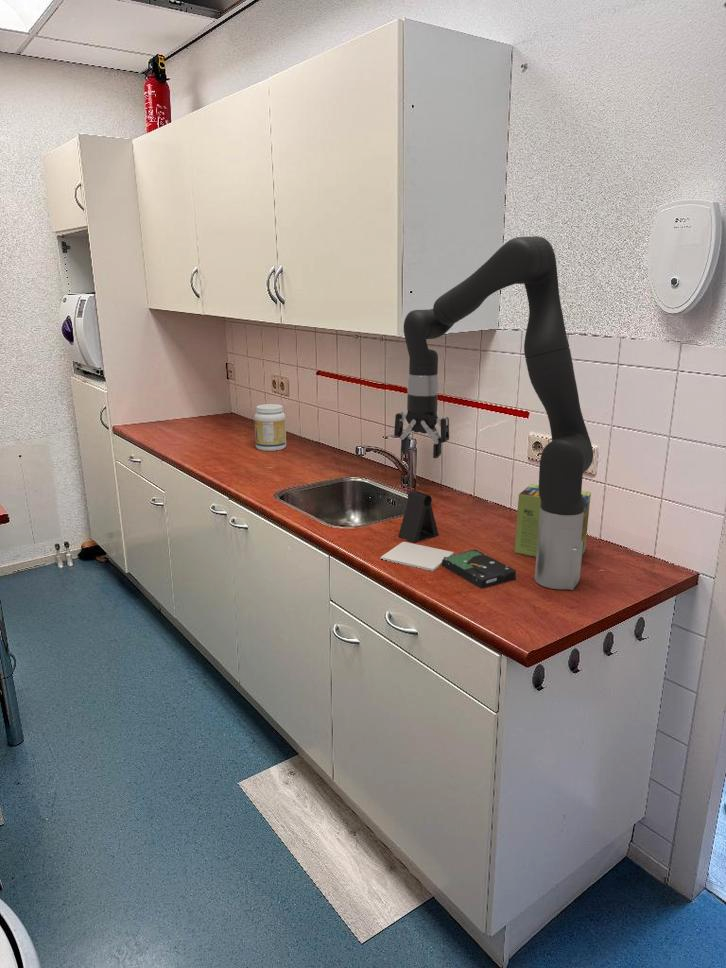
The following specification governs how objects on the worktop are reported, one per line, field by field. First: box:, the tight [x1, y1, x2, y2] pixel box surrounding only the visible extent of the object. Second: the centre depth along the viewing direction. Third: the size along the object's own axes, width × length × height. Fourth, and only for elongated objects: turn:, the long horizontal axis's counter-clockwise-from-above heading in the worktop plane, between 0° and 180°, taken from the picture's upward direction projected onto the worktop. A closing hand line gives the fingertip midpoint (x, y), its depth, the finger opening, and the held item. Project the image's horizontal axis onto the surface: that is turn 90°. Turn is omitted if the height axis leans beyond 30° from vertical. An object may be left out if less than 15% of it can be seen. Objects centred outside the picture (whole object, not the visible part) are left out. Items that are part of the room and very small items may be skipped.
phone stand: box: [397, 489, 440, 544], centre depth 181 cm, size 9×6×12 cm, turn 129°
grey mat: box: [380, 541, 455, 572], centre depth 168 cm, size 14×12×1 cm
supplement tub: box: [254, 403, 287, 452], centre depth 274 cm, size 12×12×17 cm
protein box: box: [513, 483, 592, 558], centre depth 170 cm, size 10×15×16 cm
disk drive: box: [441, 549, 517, 589], centre depth 160 cm, size 10×3×15 cm
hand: (420, 455), depth 176 cm, fingers open, 8 cm apart
